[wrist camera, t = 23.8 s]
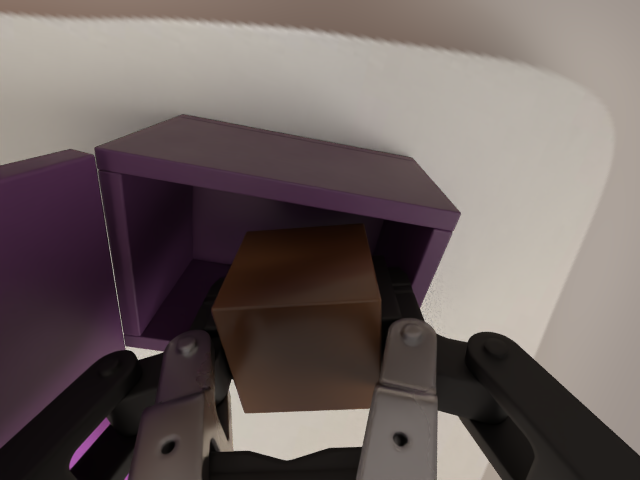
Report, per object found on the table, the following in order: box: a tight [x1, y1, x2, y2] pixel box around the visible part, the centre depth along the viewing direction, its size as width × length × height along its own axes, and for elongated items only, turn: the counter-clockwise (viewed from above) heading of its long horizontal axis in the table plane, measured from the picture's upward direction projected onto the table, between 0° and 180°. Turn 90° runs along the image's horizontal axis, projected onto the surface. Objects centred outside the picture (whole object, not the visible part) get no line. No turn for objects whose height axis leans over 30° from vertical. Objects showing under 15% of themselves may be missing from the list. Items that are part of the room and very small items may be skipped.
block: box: [211, 223, 381, 413], centre depth 11 cm, size 4×4×4 cm
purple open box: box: [95, 114, 461, 351], centre depth 15 cm, size 11×8×7 cm
